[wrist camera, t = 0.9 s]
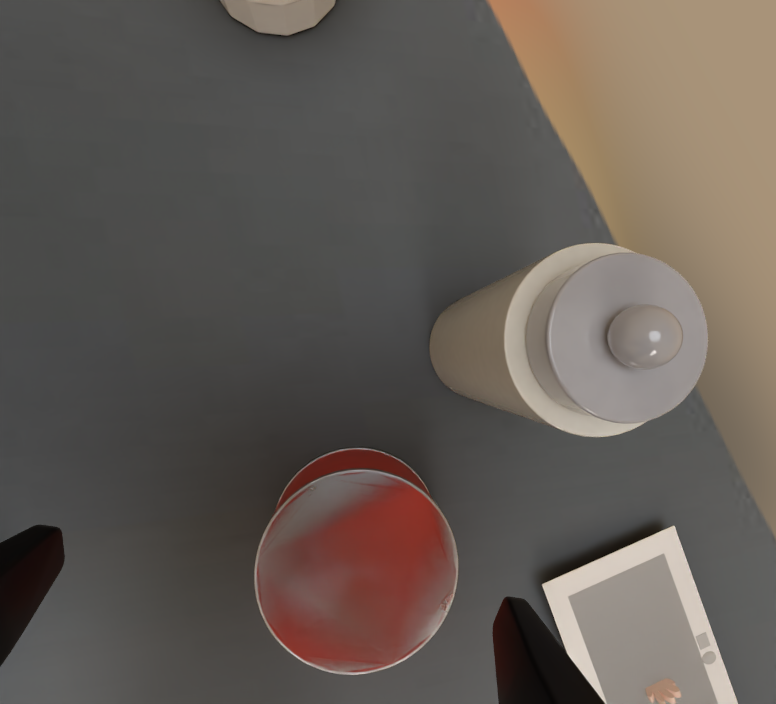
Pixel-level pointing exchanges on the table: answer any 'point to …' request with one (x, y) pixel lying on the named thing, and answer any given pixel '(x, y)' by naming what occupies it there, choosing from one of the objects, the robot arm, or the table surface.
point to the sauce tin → (355, 563)
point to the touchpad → (640, 627)
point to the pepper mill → (577, 341)
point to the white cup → (278, 14)
